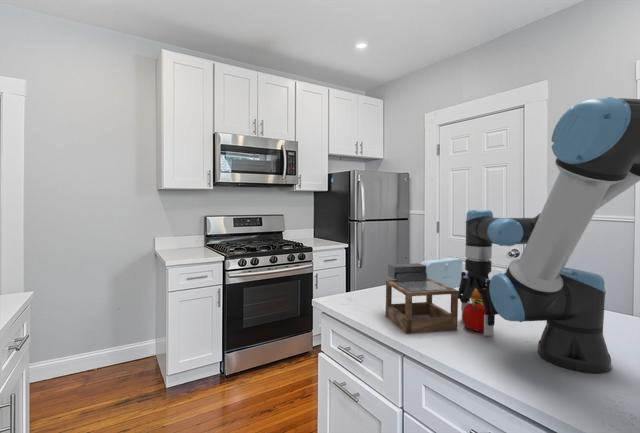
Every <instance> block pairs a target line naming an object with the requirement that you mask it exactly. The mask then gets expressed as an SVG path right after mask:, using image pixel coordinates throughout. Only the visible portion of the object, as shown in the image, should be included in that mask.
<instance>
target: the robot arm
mask: <svg viewBox="0 0 640 433" xmlns="http://www.w3.org/2000/svg"><path fill="white" fill-rule="evenodd" d="M551 143H553V144H552V145H551V151H552V154H554V156H555V158H556V159H555V161H554V164H555V166H556V167H557V170H558V171H559V173H558V175H557V177H556V179H555V181H554V183H553V186H552V188H551V190H550V191H549V192H550V193H549V194H548V196H547V199H546V201H545V203H544V206H543V208H542V209H541V212H539V214H537V215H536V216H535V217H494V215H493V211H492V210H487V209H477V210H476V209H473V210H472V209H470V210H468V211H467V212H466V219H465V253H464V256H465V257H466V259H465V260H464V264H465V265H464V266H465V267H464V270H465V271H462V273H461V282H460V286H459V287H458V300H460V303H461V304H460V305H461V307H460V308H461V323H462V324H464V322H463V311H464V309H465V307H466V306H467V305H468V304H472V301H471V296H472V294H473V292H474V290H475V288H476V289H477V290H478V292H479V293H480V295H481V298H482V301H483V304H484V307H485V310H486V313H484V332H483V336H485V337H488V336H494V326H495V322H496V320H495V318H496V315H498V316H500V318H502V319H504V320H505V321H508V322H519V323H523V322H543V321H546V323H545V327H544V329H543V332H542V334H541V337H540V339H539V340H538V343H537V353H538V355H539V356H540V357H542V358H543V359H544V360H545V361H548V362H549V363H552V364H554V365H556V366H559V367H561V368H565V369H568V370H572V371H577V372H583V373H589V374H590V373H591V374H592V373H593V374H597V373H598V374H602V373H607V372H608V371H611V369H612V357H611V355H610V353H609V349H608V346H607V344H606V340H605V337H604V320H605V319H604V318H605V303H606V302H605V301H606V299H605V298H606V293H607V292H606V289H605V280H604V278H603V276H601V275H600V274H597V273H594V272H592V271H591V272H590V271H585V270H580V269H575V268H570V267H566V264H567V263H568V261H569V260H570V257H571V256H572V254H573V252H574V251H575V248H576V246H577V245H578V244H579V242H580V240H581V238H582V236H583V234H584V232H585V231H586V229H587V228H588V225H589V223H590V221H591V220H592V218H593V217H594V215H595V213H596V211H598V210H599V209H600V208H601V207H603V206H604V205H606V204H608V203H609V202H611V201H612V200H614V199H615V198H616V197H618V196H620V195H621V194H622V193H624V192H625V191H627V190H628V189H630V188H631V187H633V186H634V185H636V184H637V183H639V182H640V98H624V97H623V98H622V97H621V98H620V97H613V96H610V97H603V98H602V97H601V98H589V99H585V100H582V101H580V102H578V103H577V104H574V105H572V106H571V107H570V108H569V109H567V110H566V111H565V112H564V113H563V114H562V115H561V117H559V120H558V121H557V123H555V126H554V129H553V131H552V134H551ZM493 244H494V245H498V246H501V247H503V246H504V247H505V246H506V247H513V246H516V245H525V246H524V249H523V251H522V253H521V256H520V258H515V259H513V260H511V262H510V263H509V265H508V266H507V269H506V271H505V273H501V272H500V273H496V274H493V275H492V277H491V278H490V277H489V274H490V273H491V272H492V261H491V259H492V257H493V255H492V254H493V250H492V248H493V247H492V246H493ZM484 288H485V289H484Z"/></svg>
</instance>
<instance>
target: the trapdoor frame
mask: <svg viewBox="0 0 640 433" xmlns="http://www.w3.org/2000/svg"><path fill="white" fill-rule="evenodd" d="M412 281H431V282H434V283H436V284H438V285H440V286H443V287H445V288H447V289H449V290H434V291H414V292H410V291H408V290H406V289H404V288H403V287H401V286H399V285H397V284H396V283H395V282H409V281H396V279H393V280H391V279H390V280H388V279H387V280H386V281H385V317H387V318H388V319H389V320H390V321H392V322H393V324H395V325H396V326H397V327H398V328H399V329H401V331H403V332H404V333H406V334H410V335H411V334H422V333H423V334H424V333H433V332H434V333H435V332H436V333H437V332H446V331H448V332H449V331H458V322H459V321H458V316H459V315H458V314H459V312H458V311H459V310H458V309H459V308H458V306H459V299H458V291H459V289H455V288H451V287H449V286H446V285H444V284H442V283H439V282H437V281H435V280H432V279H427V280H412ZM392 289H394V290H396V291H398V292H400V293H402V294H403V295H404V297H405V302H400V303H392V301H393V299H392V298H393V297H392V293H393V292H392V291H393V290H392ZM442 295H443V296H444V295H450V312H449V311H447V310H445V309H444V308H442V307H441V306H438V305H437V304H435V303H433V296H442ZM421 296H422V297H423V296H424V297H426V298H425V301H423V302H422V301H421V302H413V297H421ZM422 315H428V316H429V317H418V318H417V317H416V318H413V316H422Z"/></svg>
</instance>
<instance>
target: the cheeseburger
mask: <svg viewBox="0 0 640 433" xmlns="http://www.w3.org/2000/svg"><path fill="white" fill-rule="evenodd" d="M484 289H485V288H484ZM470 301H471V304H472V305H474V304H475V305H476V304H481V305H484V304H483V301H482V298H481V295H480V293H479V292H478V290H477V289H476V288H475V290H474V292H473V294H472V296H471V298H470Z"/></svg>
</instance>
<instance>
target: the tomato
mask: <svg viewBox="0 0 640 433" xmlns="http://www.w3.org/2000/svg"><path fill="white" fill-rule="evenodd" d="M484 313H486V310H485V307H484V305H481V304H476V305H475V304H474V305H473V304H472V303H471V304H468V305H467V306H466V307H465V309H464V311H463V322H464V323H463V324H464V326H465V327H466V328H468V329H469V330H472V331H477V332H479V333H484Z"/></svg>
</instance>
